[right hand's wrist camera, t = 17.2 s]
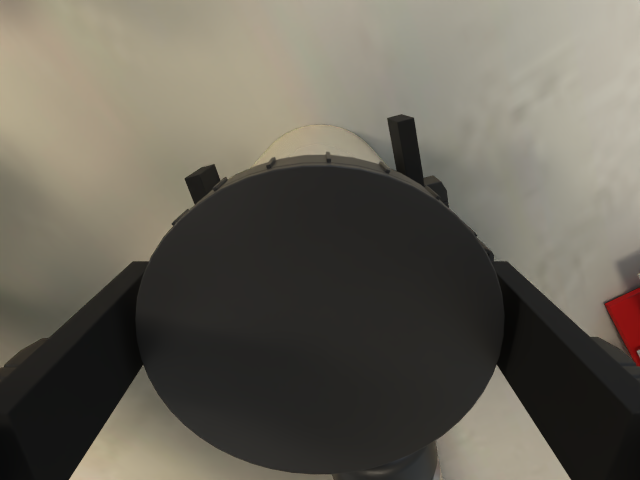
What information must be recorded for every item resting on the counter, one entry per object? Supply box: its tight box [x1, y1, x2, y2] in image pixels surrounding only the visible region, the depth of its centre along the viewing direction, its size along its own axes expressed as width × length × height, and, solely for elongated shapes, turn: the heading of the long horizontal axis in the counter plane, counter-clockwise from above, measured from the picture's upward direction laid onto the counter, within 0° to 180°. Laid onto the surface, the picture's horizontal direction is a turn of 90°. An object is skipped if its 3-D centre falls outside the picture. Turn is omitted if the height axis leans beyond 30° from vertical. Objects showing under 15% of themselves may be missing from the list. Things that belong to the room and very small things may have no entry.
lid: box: [135, 152, 505, 474], centre depth 11 cm, size 10×10×2 cm
